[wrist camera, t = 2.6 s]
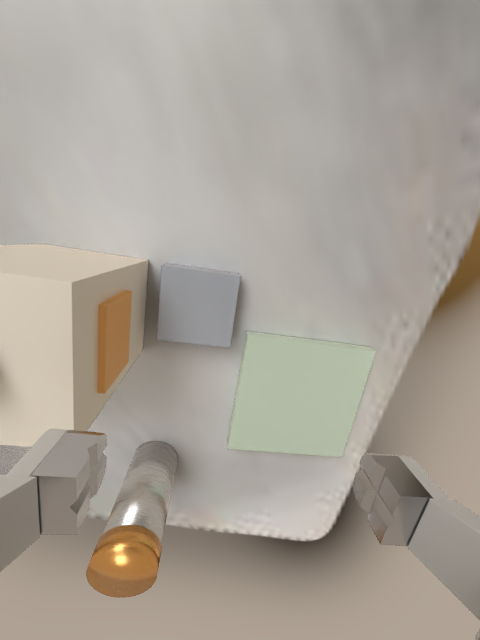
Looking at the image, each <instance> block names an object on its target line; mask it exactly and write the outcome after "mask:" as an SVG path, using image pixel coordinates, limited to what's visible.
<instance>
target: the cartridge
mask: <svg viewBox="0 0 480 640" xmlns="http://www.w3.org/2000/svg"><path fill="white" fill-rule="evenodd" d="M177 460H178V458H177V453H176V451H175V450H174V449H173V448H172V447H171V446H170V445H168V444H166V443H164V442H160V441H151V442H147V443H145V444H143V445H141V446H140V447H139V448H138V449H137V450H136V452H135V454H134V457H133V459H132V462H131V464H130V467H129V469H128V472H127V474H126V477H125V479H124V482H123V484H122V487H121V489H120V492H119V494H118V497H117V499H116V502H115V504H114V507H113V509H112V512H111V514H110V517H109V519H108V522H107V524H106V527H105V529H104V532H103V534H102V536H101V538H100V539H99V541H98V543H97V545H96V548H95V550H94V553H93V556H92V558H91V560H90V563H89V566H88V568H87V572H86V576H87V580H88V582H89V583H90V585H91V586H92V587H93V588H94V589H95V590H97V591H98V592H100V593H102V594H104V595H107V596H112V597H131V596H136V595H139V594H141V593H143V592H145V591H146V590H148V589H149V588H150V587H151V586H152V585H153V584H154V582H155V580H156V577H157V571H158V567H159V562H160V556H161V551H162V545H161V544H162V538H163V533H164V528H165V523H166V518H167V512H168V507H169V502H170V497H171V492H172V486H173V481H174V476H175V471H176V466H177Z"/></svg>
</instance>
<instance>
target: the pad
mask: <svg viewBox="0 0 480 640" xmlns="http://www.w3.org/2000/svg"><path fill="white" fill-rule="evenodd" d="M375 353H376V351H374V350H373V349H372V348H370V347H368V346H360V345H352V344H345V343H337V342H329V341H321V340H313V339H305V338H297V337H290V336H282V335H274V334H266V333H258V332H250V331H246V337H245V342H244V348H243V354H242V359H241V365H240V371H239V377H238V382H237V388H236V394H235V399H234V405H233V411H232V416H231V422H230V428H229V434H228V439H227V444H228V449H237V450H250V451H264V452H277V453H291V454H304V455H318V456H331V457H342V455H343V452H344V449H345V446H346V443H347V440H348V437H349V434H350V430H351V427H352V424H353V421H354V418H355V415H356V412H357V409H358V406H359V403H360V400H361V396H362V393H363V390H364V387H365V384H366V381H367V378H368V375H369V372H370V369H371V366H372V362H373V359H374V356H375Z"/></svg>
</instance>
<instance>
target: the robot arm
mask: <svg viewBox="0 0 480 640" xmlns="http://www.w3.org/2000/svg"><path fill="white" fill-rule="evenodd" d="M106 445H107V435H106V434H105V433H96V432H86V431H76V430H63V429H53V428H51V429H49V430H47V431H46V432H45V433H44V434H43V435H42V436H41V437H40V438H39V439H38V440H37V441H36V442H35V444H34V445H33V446H32V447H31V448H30V449H29V450H28V451H27V452H26V454H25V455H24V456H23V457H22V458H21V459H20V460H19V461H18V462H17V463H16V465H15V466H14V467H13V468H12V469H11V470H10V471H9V472H8V473H7V474H6V475H0V572H1V571H2V570H3V569H4V568H5V567H6V566H8V565H9V564H10V563H11V562H12V561H13V560H14V559H16V558H17V557H18V556H19V555H20V554H21V553H22V552H23V551H25V550H26V549H27V548H28V547H29V546H30V545H32V544H33V543H34V542H35V541H36V540H37V539H38V538H39V537H40V535H43V534H45V535H48V534H49V535H53V534H54V535H55V534H56V535H66V534H67V535H77V533H78V531H79V530H80V527H81V525H82V523H83V521H84V519H85V517H86V515H87V513H88V511H89V505H90V498H92V497H93V496H94V495H96V494H97V492H98V490H99V488H100V486H101V483H102V480H103V477H104V474H105V468H106V456H105V455H104V453H103V451H104V449H105V447H106ZM360 465H361V467H362V469H361V470H360V471H358V472H357V473H356V475H355V478H354V481H353V485H354V493H355V497H356V499H357V502H358V504H359V505H360V507H361V508H362V509H363V510H365V511H366V512H367V513H368V514H369V515H368V522H369V524H370V526H371V528H372V530H373V532H374V534H375V535H376V537H377V539H378V541H379V543H380V544H381V545H396V546H408V549H409V550H410V551H411V552H412V553H413V554H414V555H415V556H416V557H417V558H418V559H419V560H420V561H421V562H422V563H423V564H424V565H425V566H426V567H427V568H428V569H429V570H430V571H431V572H432V573H433V574H434V575H435V576H436V577H437V578H438V579H439V580H440V581H441V582H442V583H443V584H444V585H445V586H446V587H447V588H448V589H449V590H450V591H451V592H452V593H453V594H454V595H455V596H456V597H457V598H458V599H459V600H460V601H461V602H462V603H463V604H464V605H465V606H466V607H467V608H468V609H469V610H470V611H471V612H472V613H473V614H474V615H475V616H476V617H477V618H478V619H479V620H480V516H479V515H478V514H476V513H475V512H473V511H471V510H470V509H468V508H467V507H465V506H464V505H462V504H460V503H459V502H457V501H456V500H450V499H449V498H448V496H447V495H446V494H445V493H444V492H443V491H442V490H441V488H440V487H439V486H438V485H437V484H436V483H435V482H434V481H433V480H432V479H431V477H430V476H429V475H428V474H427V473H426V472H425V471H424V470H423V469H422V467H421V466H420V465H419V464H418V463H417V462H416V461H415V460H414V459H413V458H412V457H410V456H407V455H385V454H384V455H383V454H370V453H365V454H364V455H363V456H362V458H361V460H360ZM475 640H480V630H479V631H478V633H477V634H476V638H475Z"/></svg>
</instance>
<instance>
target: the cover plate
mask: <svg viewBox="0 0 480 640" xmlns="http://www.w3.org/2000/svg"><path fill="white" fill-rule="evenodd" d="M239 284H240V275H239V273H233V272H226V271H219V270H212V269H205V268H198V267H191V266H184V265H177V264H170V263H166V264H164V265H162V269H161V284H160V298H159V313H158V328H157V340H162V341H171V342H180V343H190V344H199V345H208V346H217V347H227V348H230V344H231V337H232V331H233V324H234V317H235V311H236V304H237V297H238V291H239Z"/></svg>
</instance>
